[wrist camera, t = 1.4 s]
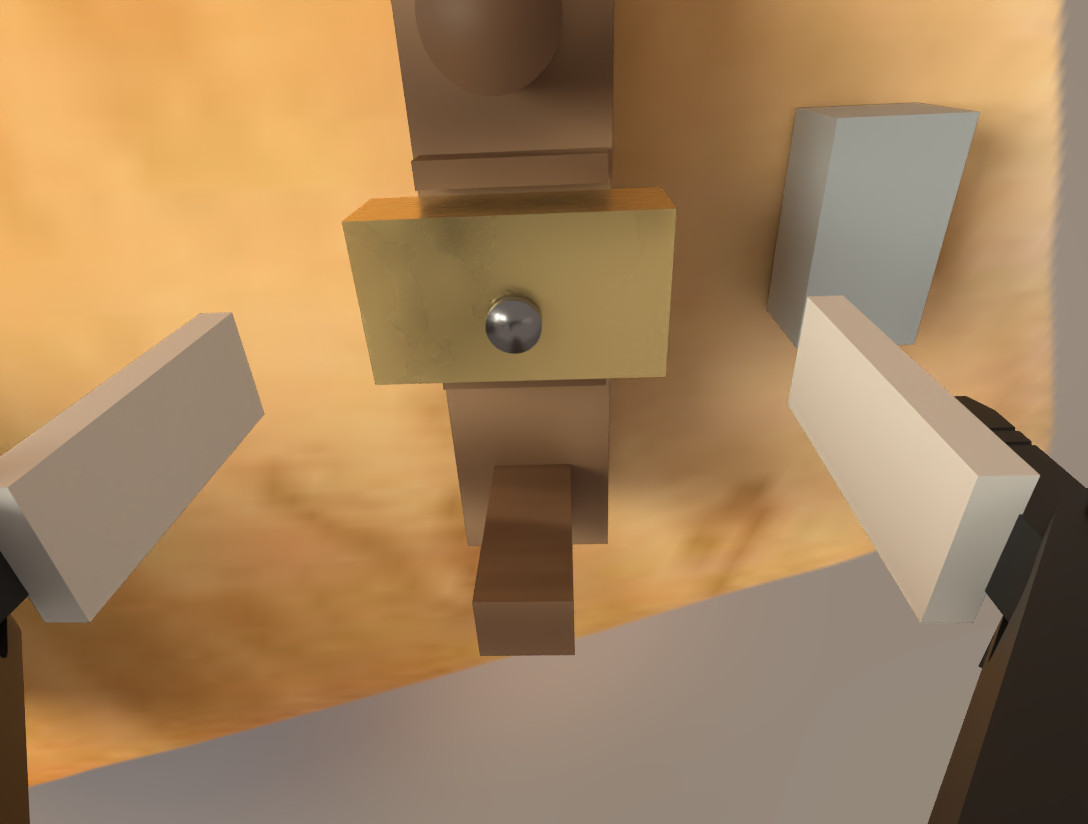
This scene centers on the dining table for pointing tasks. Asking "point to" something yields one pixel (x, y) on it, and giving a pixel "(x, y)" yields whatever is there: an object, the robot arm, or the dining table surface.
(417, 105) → the plane body
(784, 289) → the block
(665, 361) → the lever cap
